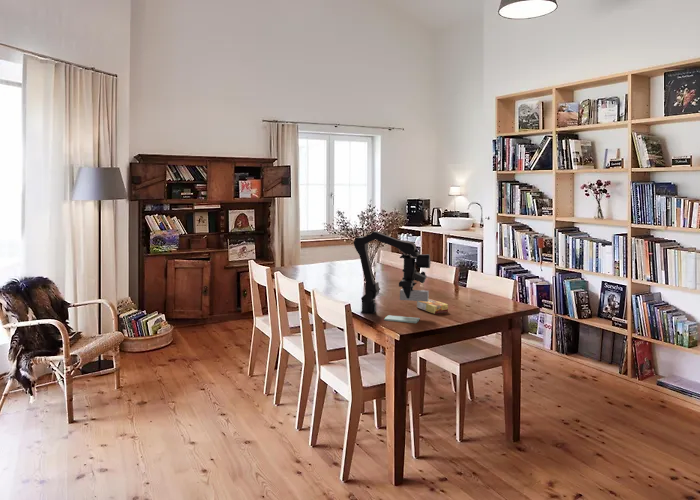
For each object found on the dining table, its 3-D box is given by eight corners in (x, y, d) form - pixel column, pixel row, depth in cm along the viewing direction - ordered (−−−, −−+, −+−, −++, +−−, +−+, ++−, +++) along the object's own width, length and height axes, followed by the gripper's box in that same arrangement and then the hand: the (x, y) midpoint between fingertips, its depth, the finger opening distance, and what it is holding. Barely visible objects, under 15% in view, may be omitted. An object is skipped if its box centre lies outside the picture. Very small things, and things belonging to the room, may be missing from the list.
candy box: (448, 312, 279) (429, 306, 292) (448, 304, 279) (429, 298, 292) (434, 314, 275) (416, 307, 288) (434, 306, 274) (416, 300, 287)
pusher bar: (399, 299, 272) (399, 290, 271) (401, 298, 275) (401, 288, 274) (427, 301, 268) (427, 291, 267) (428, 300, 270) (428, 290, 270)
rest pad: (384, 320, 263) (384, 318, 263) (388, 316, 270) (388, 315, 270) (416, 323, 258) (416, 321, 258) (419, 319, 265) (419, 318, 264)
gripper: (421, 271, 258) (420, 303, 260) (429, 265, 276) (428, 295, 278) (398, 269, 262) (398, 301, 264) (407, 263, 279) (407, 293, 281)
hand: (408, 297), depth 272 cm, fingers closed on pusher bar, 3 cm apart
